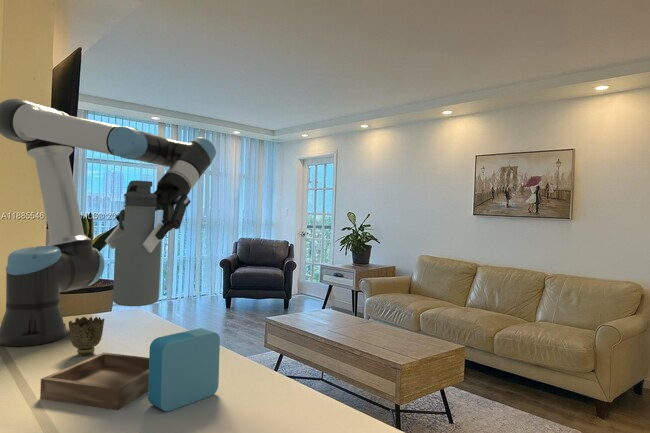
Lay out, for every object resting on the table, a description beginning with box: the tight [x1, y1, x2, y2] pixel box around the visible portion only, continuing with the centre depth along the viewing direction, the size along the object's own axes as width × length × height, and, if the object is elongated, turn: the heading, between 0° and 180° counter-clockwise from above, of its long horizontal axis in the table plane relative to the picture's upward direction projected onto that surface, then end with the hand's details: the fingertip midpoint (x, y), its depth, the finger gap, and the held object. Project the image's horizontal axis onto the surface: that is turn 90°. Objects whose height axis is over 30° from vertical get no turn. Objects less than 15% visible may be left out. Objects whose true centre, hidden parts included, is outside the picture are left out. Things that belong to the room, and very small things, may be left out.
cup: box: [68, 316, 105, 356], centre depth 105 cm, size 8×7×8 cm
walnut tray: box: [39, 352, 149, 411], centre depth 86 cm, size 16×16×4 cm
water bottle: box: [112, 180, 162, 307], centre depth 103 cm, size 10×10×28 cm
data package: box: [147, 327, 221, 413], centre depth 82 cm, size 12×4×12 cm, turn 141°
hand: (127, 246), depth 100 cm, fingers closed on water bottle, 10 cm apart
